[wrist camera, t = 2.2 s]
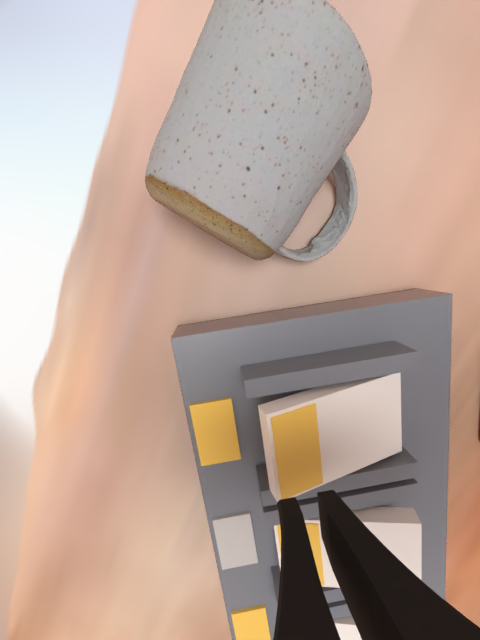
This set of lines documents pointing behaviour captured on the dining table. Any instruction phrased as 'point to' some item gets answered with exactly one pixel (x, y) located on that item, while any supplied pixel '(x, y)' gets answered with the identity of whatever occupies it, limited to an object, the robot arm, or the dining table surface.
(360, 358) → the switch panel
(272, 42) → the ceramic mug
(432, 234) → the dining table surface
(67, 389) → the dining table surface
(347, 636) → the rocker
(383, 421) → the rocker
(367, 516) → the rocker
